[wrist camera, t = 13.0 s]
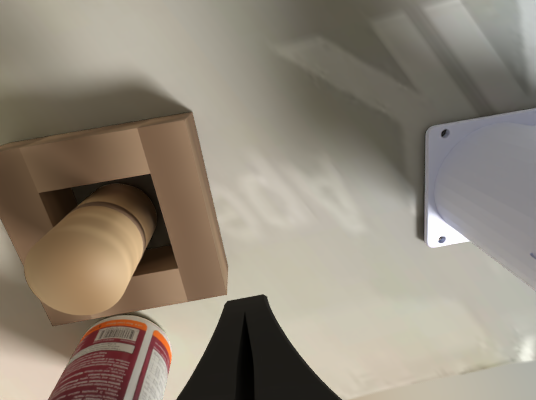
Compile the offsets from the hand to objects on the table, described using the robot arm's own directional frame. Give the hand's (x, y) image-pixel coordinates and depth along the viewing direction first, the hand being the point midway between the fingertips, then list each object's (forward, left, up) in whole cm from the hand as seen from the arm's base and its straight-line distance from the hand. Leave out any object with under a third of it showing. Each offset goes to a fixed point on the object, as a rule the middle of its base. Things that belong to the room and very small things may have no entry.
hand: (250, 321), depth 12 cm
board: (+7, -1, -10) cm, 12 cm away
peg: (+7, -1, -10) cm, 13 cm away
